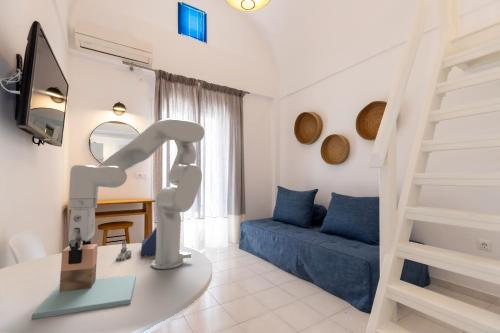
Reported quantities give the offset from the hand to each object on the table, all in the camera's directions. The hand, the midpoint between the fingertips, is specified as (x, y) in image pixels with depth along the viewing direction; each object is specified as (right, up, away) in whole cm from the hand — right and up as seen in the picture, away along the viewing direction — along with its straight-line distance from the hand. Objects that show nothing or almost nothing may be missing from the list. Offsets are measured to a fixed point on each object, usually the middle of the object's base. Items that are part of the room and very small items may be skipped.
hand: (80, 258), depth 74 cm
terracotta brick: (0, -3, 0) cm, 3 cm away
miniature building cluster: (0, -12, +29) cm, 32 cm away
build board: (+6, -10, -3) cm, 12 cm away
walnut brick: (0, -9, 0) cm, 9 cm away
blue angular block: (+8, -12, +39) cm, 42 cm away
